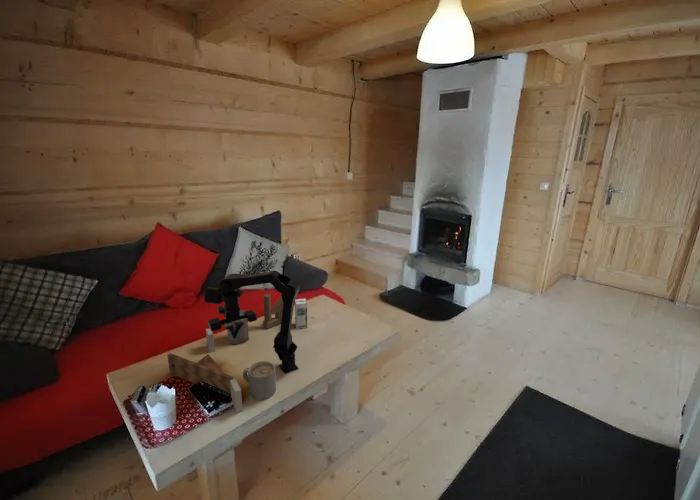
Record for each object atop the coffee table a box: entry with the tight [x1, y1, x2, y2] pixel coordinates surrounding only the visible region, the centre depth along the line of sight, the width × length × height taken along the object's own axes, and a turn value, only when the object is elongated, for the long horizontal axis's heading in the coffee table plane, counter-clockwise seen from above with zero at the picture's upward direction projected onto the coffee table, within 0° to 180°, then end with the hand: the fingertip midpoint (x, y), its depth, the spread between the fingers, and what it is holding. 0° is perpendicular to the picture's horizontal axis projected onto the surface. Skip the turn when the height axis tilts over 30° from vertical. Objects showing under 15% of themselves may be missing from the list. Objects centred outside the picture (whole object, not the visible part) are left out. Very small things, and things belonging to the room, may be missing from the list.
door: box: [166, 352, 232, 394], centre depth 134 cm, size 32×2×9 cm, turn 65°
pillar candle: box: [226, 309, 250, 346], centre depth 166 cm, size 10×10×15 cm
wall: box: [205, 328, 243, 414], centre depth 141 cm, size 49×2×9 cm, turn 33°
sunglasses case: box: [196, 353, 222, 372], centre depth 143 cm, size 18×7×7 cm, turn 40°
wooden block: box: [262, 293, 283, 330], centre depth 180 cm, size 4×11×18 cm, turn 135°
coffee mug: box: [242, 360, 277, 401], centre depth 133 cm, size 13×10×10 cm
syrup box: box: [294, 298, 308, 330], centre depth 180 cm, size 6×6×14 cm
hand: (234, 338), depth 147 cm, fingers closed
